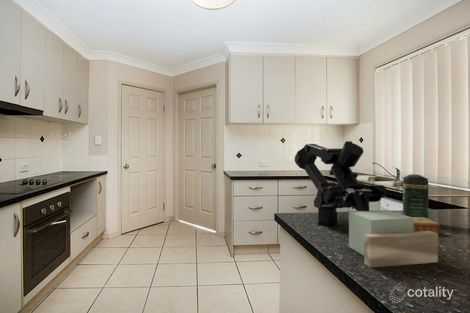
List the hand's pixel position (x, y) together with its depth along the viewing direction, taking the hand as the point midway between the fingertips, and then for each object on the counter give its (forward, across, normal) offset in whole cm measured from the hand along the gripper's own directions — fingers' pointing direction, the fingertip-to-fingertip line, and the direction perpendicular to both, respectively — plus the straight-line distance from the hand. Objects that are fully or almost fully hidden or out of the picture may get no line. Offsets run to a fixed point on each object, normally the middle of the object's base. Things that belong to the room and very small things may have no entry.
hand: (367, 217), depth 71 cm
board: (+14, 0, +3) cm, 14 cm away
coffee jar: (-8, -34, -19) cm, 39 cm away
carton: (-2, -23, -14) cm, 27 cm away
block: (+9, 0, -2) cm, 9 cm away
